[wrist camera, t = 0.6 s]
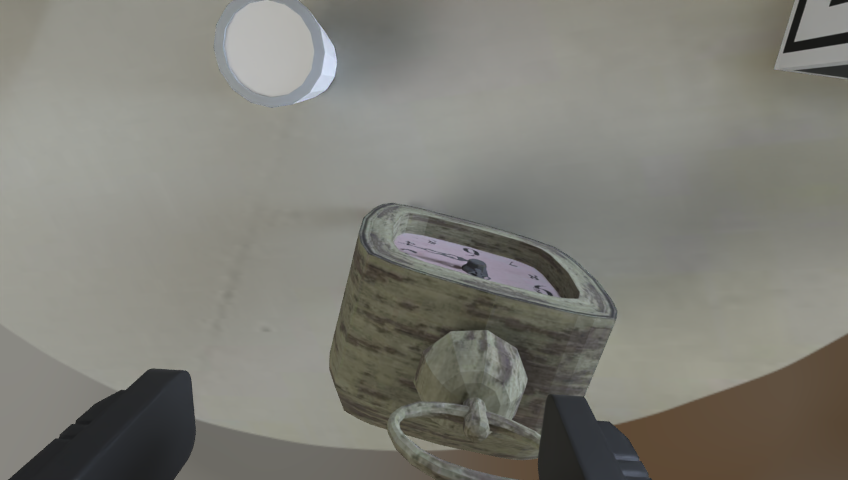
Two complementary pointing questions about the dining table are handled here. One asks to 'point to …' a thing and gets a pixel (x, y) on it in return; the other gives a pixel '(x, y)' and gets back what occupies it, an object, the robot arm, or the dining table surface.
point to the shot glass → (273, 52)
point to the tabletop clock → (462, 335)
